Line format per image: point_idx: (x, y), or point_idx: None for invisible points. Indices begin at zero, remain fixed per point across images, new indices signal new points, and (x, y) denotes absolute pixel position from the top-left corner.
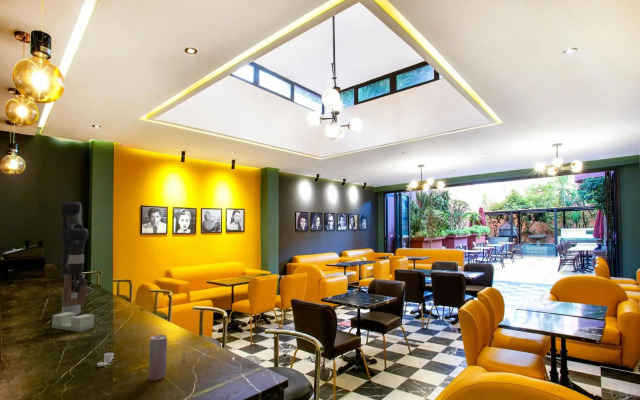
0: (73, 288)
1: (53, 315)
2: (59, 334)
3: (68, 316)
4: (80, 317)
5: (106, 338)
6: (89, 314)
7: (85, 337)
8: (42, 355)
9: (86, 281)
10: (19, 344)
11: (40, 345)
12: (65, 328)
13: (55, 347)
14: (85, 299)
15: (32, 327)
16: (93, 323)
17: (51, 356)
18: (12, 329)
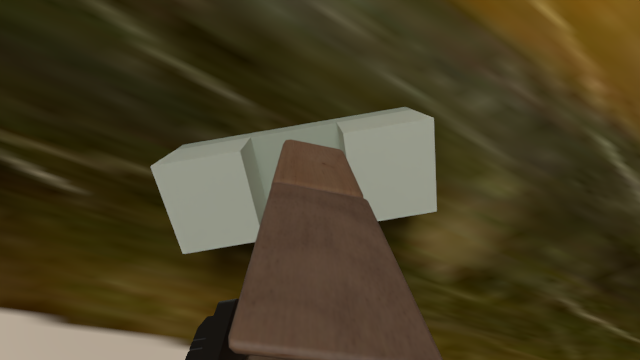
0: (227, 336)
1: (189, 252)
2: None
3: (253, 192)
4: (410, 197)
5: (634, 176)
6: (387, 126)
7: (524, 212)
8: (552, 356)
9: (420, 316)
10: None
11: (443, 328)
12: None
13: (519, 313)
14: (348, 164)
15: (108, 257)
16: (412, 110)
17: (589, 348)
18: (72, 309)
